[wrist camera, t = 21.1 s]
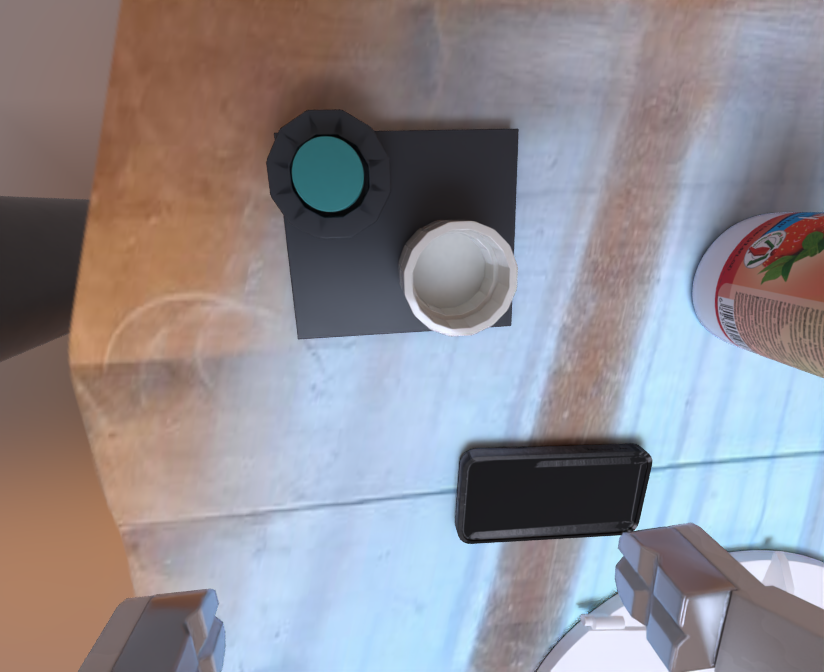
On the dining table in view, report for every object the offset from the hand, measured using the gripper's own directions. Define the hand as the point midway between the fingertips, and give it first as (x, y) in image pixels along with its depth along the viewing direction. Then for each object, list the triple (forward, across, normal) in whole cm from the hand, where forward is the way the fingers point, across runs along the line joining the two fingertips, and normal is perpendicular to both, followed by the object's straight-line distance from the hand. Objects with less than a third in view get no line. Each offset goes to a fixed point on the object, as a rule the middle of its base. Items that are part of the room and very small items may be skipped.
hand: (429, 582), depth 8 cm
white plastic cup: (+20, -4, -4) cm, 20 cm away
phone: (+21, -13, +14) cm, 28 cm away
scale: (+21, -2, -6) cm, 22 cm away
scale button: (+18, +2, -9) cm, 20 cm away
